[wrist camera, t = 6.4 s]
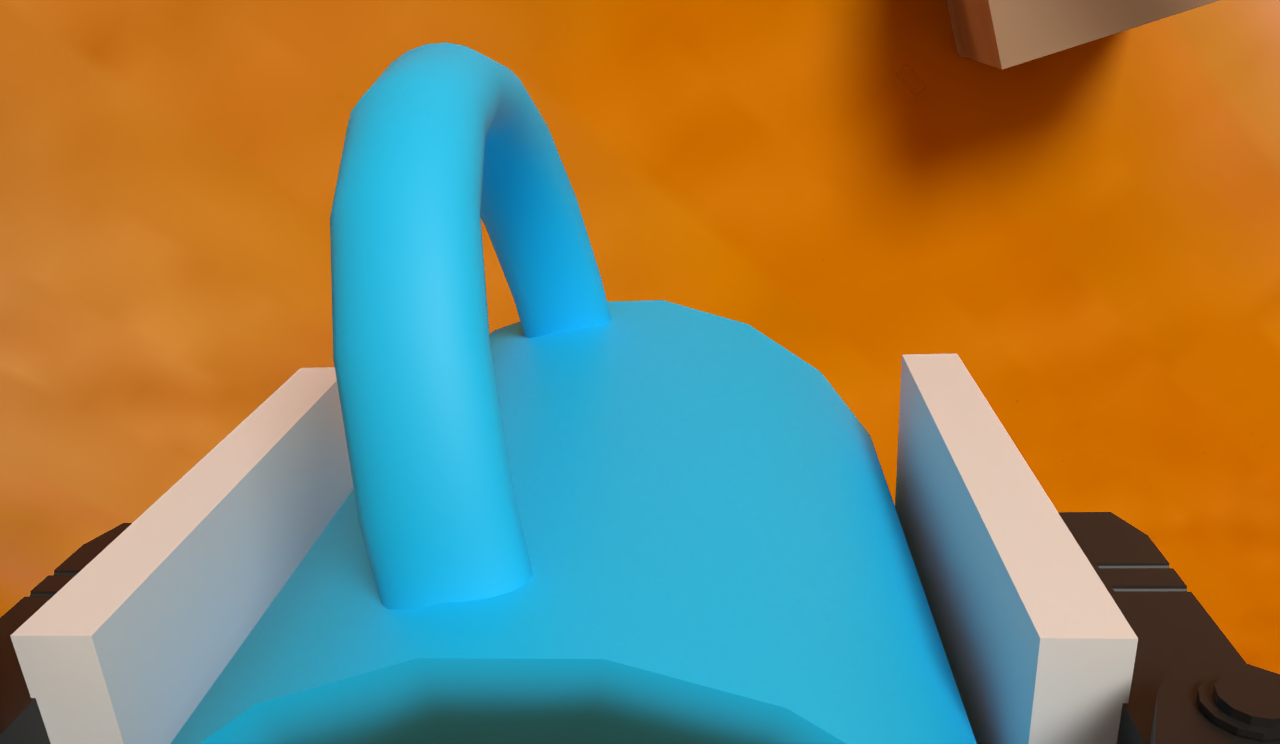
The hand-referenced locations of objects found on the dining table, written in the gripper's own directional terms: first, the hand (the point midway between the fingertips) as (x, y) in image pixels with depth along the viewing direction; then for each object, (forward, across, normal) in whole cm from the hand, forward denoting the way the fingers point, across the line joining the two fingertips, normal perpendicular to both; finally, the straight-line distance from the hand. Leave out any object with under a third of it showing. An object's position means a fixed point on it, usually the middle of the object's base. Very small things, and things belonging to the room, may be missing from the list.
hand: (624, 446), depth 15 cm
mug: (+1, 0, 0) cm, 1 cm away
